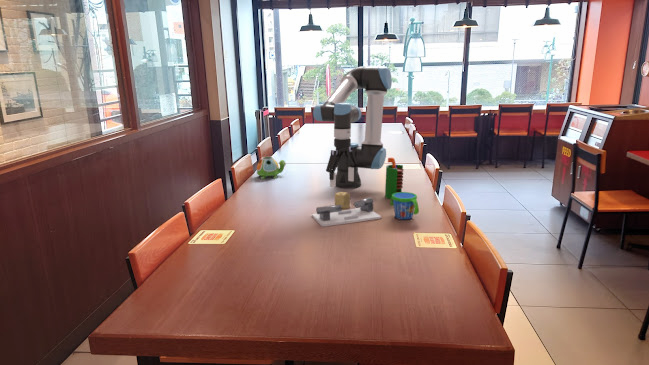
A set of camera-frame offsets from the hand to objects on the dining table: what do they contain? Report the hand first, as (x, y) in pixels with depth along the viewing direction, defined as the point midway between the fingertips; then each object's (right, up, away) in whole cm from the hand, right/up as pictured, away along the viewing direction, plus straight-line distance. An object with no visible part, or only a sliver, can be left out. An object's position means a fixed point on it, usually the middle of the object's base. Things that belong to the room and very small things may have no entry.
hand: (342, 183), depth 196 cm
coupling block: (0, -11, +3) cm, 12 cm away
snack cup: (+26, -15, -10) cm, 32 cm away
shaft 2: (+9, -13, -5) cm, 17 cm away
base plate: (+1, -15, -10) cm, 18 cm away
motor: (+27, -7, +20) cm, 34 cm away
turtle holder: (-41, +4, +63) cm, 76 cm away
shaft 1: (-6, -16, -13) cm, 21 cm away
